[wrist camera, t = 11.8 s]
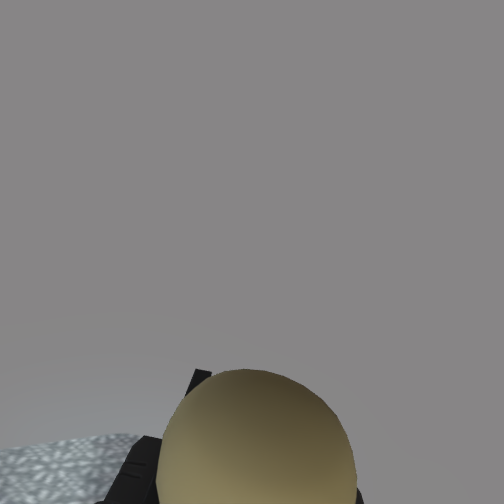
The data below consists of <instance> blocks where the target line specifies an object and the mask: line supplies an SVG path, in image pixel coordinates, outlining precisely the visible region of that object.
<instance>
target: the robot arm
mask: <svg viewBox="0 0 504 504" xmlns="http://www.w3.org/2000/svg"><path fill="white" fill-rule="evenodd" d="M211 374H212V372H209V371H205V370H199V369H195V372H194V374H193V377H192V379H191V382H190V385H189V387H188V389H187V392H186V394H185V397H186V396H187V395H188V394H189V393H190V392H191V391H192V390H193V389H194V388H195V387H197V386H198V385H199V384H200V383H202V382H203V381H204V380H205V379H207V378H209V377H211ZM314 394H315V393H314ZM161 444H162V439H159V438H154V437H149V436H143V437H142V438H141V439H140V440H138V441H137V442H136V443H135V444H134V445H133V446H132V448H131V450H130V452H129V454H128V455H127V457H126V459H125V462H124V463H123V465H122V467H121V469H120V471H119V474H118V475H117V476H116V478H115V480H114V482H113V484H112V486H111V488H110V490H109V492H108V494H107V495H106V497H105V499H104V501H100V502H97V503H95V504H160V503H159V497H158V491H157V485H156V477H157V469H158V462H159V456H160V450H161ZM355 504H364V502H363V499H362V495H361V493H360V491H359V490H358V488H357V497H356V502H355Z"/></svg>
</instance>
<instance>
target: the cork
mask: <svg viewBox="0 0 504 504" xmlns="http://www.w3.org/2000/svg"><path fill="white" fill-rule="evenodd" d="M156 485H157V491H158V497H159V503H160V504H355V502H356V497H357V474H356V469H355V463H354V458H353V452H352V449H351V446H350V443H349V440H348V437H347V434H346V433H345V431H344V429H343V427H342V425H341V423H340V421H339V419H338V417H337V415H336V414H335V413H334V412H333V411H332V410H331V409H330V408H329V407H328V406H327V404H326V403H325V402H324V401H323V400H322V399H321V398H319V397H318V396H317V395H315V394H314V393H313V392H312V391H310V390H309V389H307V388H306V387H305V386H303V385H301V384H299V383H297V382H295V381H293V380H290V379H289V378H287V377H284V376H281V375H278V374H275V373H271V372H267V371H261V370H250V369H241V370H231V371H224V372H222V373H219V374H216V375H214V376H211V377H209V378H207V379H205V380H204V381H203V382H202V383H200V384H199V385H198V386H197V387H195V388H194V389H193V390H192V391H191V392H190V393H189V394H188V395H187V396H186V397H184V399H182V401H181V402H180V404H179V406H178V407H177V409H176V411H175V412H174V414H173V416H172V418H171V419H170V421H169V424H168V426H167V428H166V430H165V432H164V434H163V439H162V444H161V450H160V456H159V462H158V469H157V477H156Z"/></svg>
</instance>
